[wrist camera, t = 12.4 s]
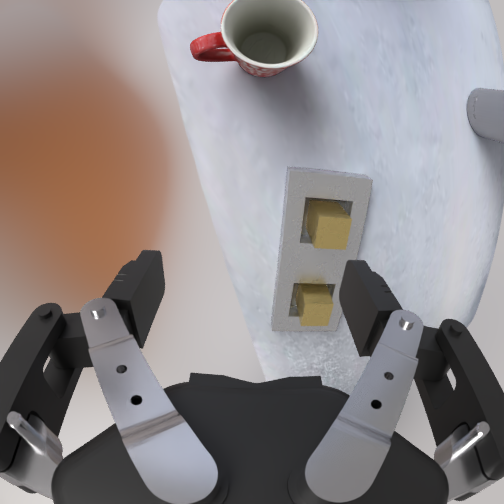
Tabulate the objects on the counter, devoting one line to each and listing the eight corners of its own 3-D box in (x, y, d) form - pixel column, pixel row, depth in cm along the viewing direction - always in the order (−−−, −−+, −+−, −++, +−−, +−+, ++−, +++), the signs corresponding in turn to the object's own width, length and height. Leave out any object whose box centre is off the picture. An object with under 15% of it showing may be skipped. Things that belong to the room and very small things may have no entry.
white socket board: (287, 166, 39) (289, 170, 37) (365, 174, 40) (372, 179, 37) (271, 319, 52) (271, 330, 50) (332, 320, 53) (336, 330, 50)
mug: (291, 22, 29) (309, -14, 17) (301, 79, 33) (326, 65, 21) (199, 35, 30) (176, 3, 18) (209, 92, 34) (189, 83, 22)
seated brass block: (337, 202, 42) (352, 219, 36) (333, 229, 44) (345, 249, 38) (309, 199, 42) (319, 216, 36) (305, 227, 44) (314, 248, 38)
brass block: (324, 279, 48) (333, 304, 42) (319, 299, 50) (327, 325, 44) (299, 278, 48) (305, 304, 42) (295, 299, 50) (300, 326, 44)
